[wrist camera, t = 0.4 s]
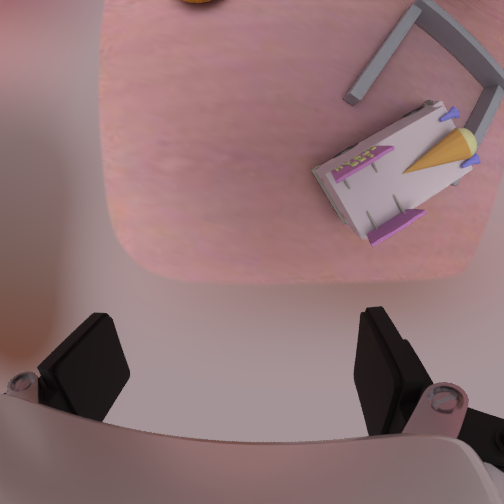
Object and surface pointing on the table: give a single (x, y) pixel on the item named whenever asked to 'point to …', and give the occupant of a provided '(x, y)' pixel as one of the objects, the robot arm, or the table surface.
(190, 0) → the apple
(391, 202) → the toy vehicle
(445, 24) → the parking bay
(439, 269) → the table surface
